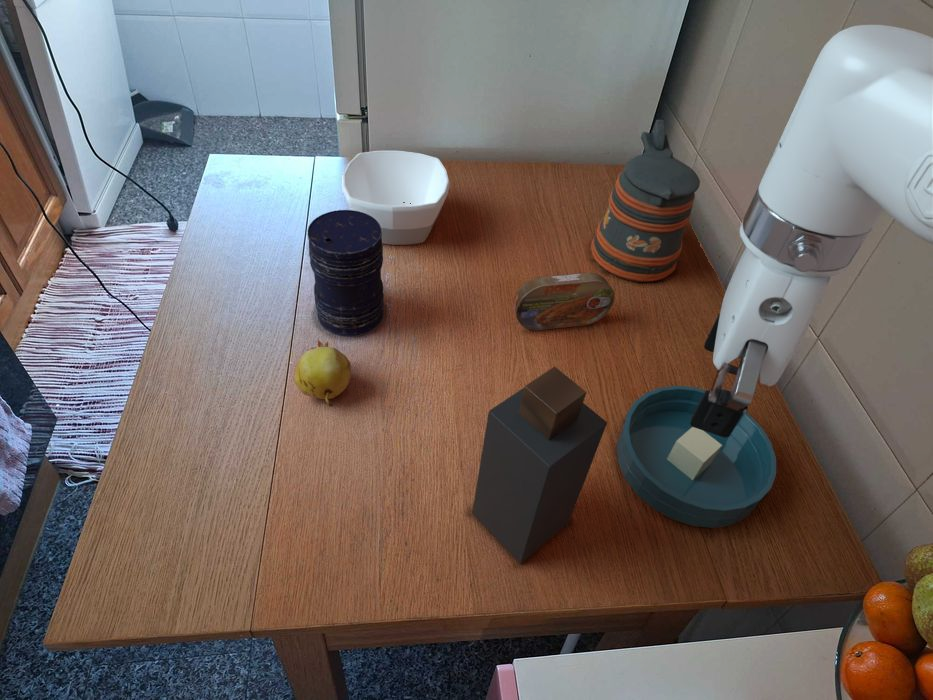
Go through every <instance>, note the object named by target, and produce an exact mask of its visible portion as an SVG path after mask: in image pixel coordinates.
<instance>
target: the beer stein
mask: <svg viewBox="0 0 933 700" xmlns="http://www.w3.org/2000/svg"><path fill="white" fill-rule="evenodd" d="M640 140H641V142H642V145H643V149H644V152H643V153H642V154H639V155H636V156H634V157H631V158H630V159H629V160H628V161H627V163H626V164H625V165H624V167H623V170H622V171H620V173H618V175H617V177H616V181H615V184H614V186H613V188H612V190H611V192H610V196H609V198H608V207H607V209H606V211H605V215H604V216H602V218H601V220H600V221H599V223H598V225H597V229H596V232H595V234H594V236H593V238H592V240H591V245H590V250H591V254H592V257H593V259H594V261H596V263H597V264H598V265H599V266H600V267H601V268H602V269H604V270H605V271H607V272H608V273H610V274H612V275H613V276H615V277H618V278H620V279H622V280H626V281H631V282H635V283H650V282H657V281H660V280H661V281H662V280H663V279H666V278H667V277H668V276H670V275H671V274H673V273H674V272H675V271H676V267H677V264H678V260H679V258H680V255H681V251H682V249H683V236H684V232H685V228H686V225H687V224H688V223H689V221H690V219H691V214H692V210H693V205H694V201H695V199H696V198H695V197H696V192H697V191H698V190H699V188H700V185H701V181H700V180H701V179H700V177H699V175H698V174H697V172H695V170H694V169H692V168H691V167H690V166H689V165H687V164H686V163H684V162H682V161H681V160H679V159H677V158H675V157H674V155H673V154H674V153H673V151H672V149H671V147H670V143H669V139H668V134H667V133H666V126H665V120H664V119H656V120H655V122H654V126H653V128H652V131H651V132H646V131H643V132H642V133H641V136H640Z"/></svg>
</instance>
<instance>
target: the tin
mask: <svg viewBox="0 0 933 700" xmlns="http://www.w3.org/2000/svg"><path fill="white" fill-rule="evenodd" d="M614 303H615V291H614V289H613V287H612V286H611V285H610V284H609V282H608V281H607V280H606V278H605V277H604V276H602V275H601V274H599V273H596V272H579V273H578V272H577V273H571V274H570V273H567V274H557V275H547V276H538V277H535V278H532V279H530V280H528V281H527V282H525V283H524V284H523V285H521V286H520V287H519V288H518V290H517V291H516V292H515V296H514V299H513V310H514V314H515V317H516V320H517V321H518V324H520V325H521V326H522V327H523V328H524V329H528V330H531V331H546V330H554V329H555V330H556V329H565V328H575V327H585V326H589V325H592V324H594V323H597V322H598V321H600V320H601V319H603V318H604V317H605V316H607V314H608V313H609V312H610V311H611V309H612V307H613V306H614Z"/></svg>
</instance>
